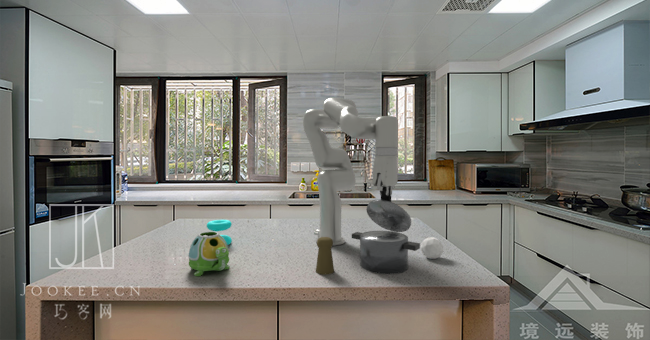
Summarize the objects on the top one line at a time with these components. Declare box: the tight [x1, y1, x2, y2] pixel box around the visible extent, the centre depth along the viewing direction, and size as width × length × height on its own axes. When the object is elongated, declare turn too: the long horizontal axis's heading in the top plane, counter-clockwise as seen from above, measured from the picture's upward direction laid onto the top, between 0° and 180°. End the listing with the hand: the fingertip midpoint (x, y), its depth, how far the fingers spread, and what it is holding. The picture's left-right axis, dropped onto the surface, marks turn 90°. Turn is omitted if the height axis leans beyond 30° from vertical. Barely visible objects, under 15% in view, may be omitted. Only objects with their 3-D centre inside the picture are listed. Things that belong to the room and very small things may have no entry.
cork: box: [315, 237, 335, 276], centre depth 98 cm, size 6×6×11 cm
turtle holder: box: [187, 230, 231, 277], centre depth 98 cm, size 12×18×12 cm
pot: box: [351, 230, 421, 275], centre depth 104 cm, size 24×16×10 cm, turn 50°
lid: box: [366, 199, 412, 233], centre depth 106 cm, size 16×16×3 cm
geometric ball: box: [420, 236, 444, 260], centre depth 111 cm, size 8×8×8 cm
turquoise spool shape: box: [206, 219, 233, 246], centre depth 129 cm, size 10×10×10 cm
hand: (385, 206), depth 104 cm, fingers closed
